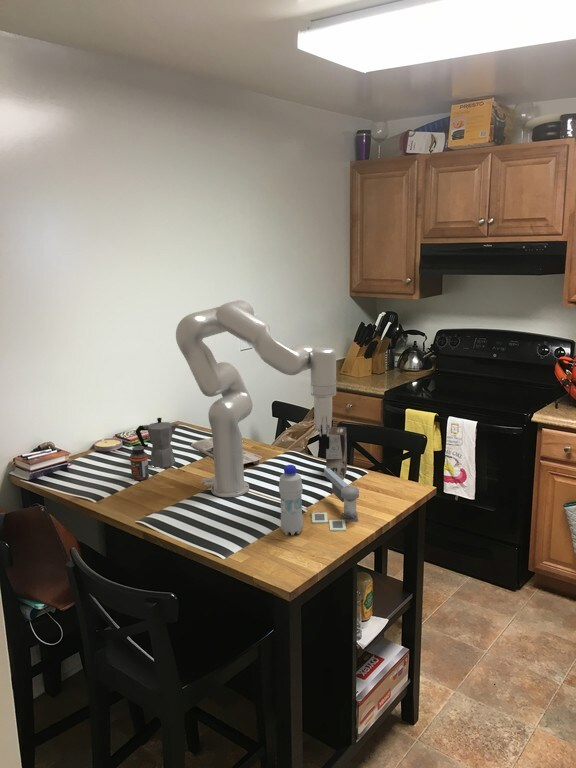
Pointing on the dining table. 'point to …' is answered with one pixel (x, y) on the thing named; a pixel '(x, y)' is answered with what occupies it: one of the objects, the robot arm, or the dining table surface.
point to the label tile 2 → (337, 525)
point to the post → (350, 510)
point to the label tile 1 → (319, 518)
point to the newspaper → (207, 448)
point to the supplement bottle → (139, 463)
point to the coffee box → (337, 451)
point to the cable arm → (341, 486)
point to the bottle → (291, 500)
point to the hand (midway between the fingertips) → (324, 448)
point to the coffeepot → (159, 442)
